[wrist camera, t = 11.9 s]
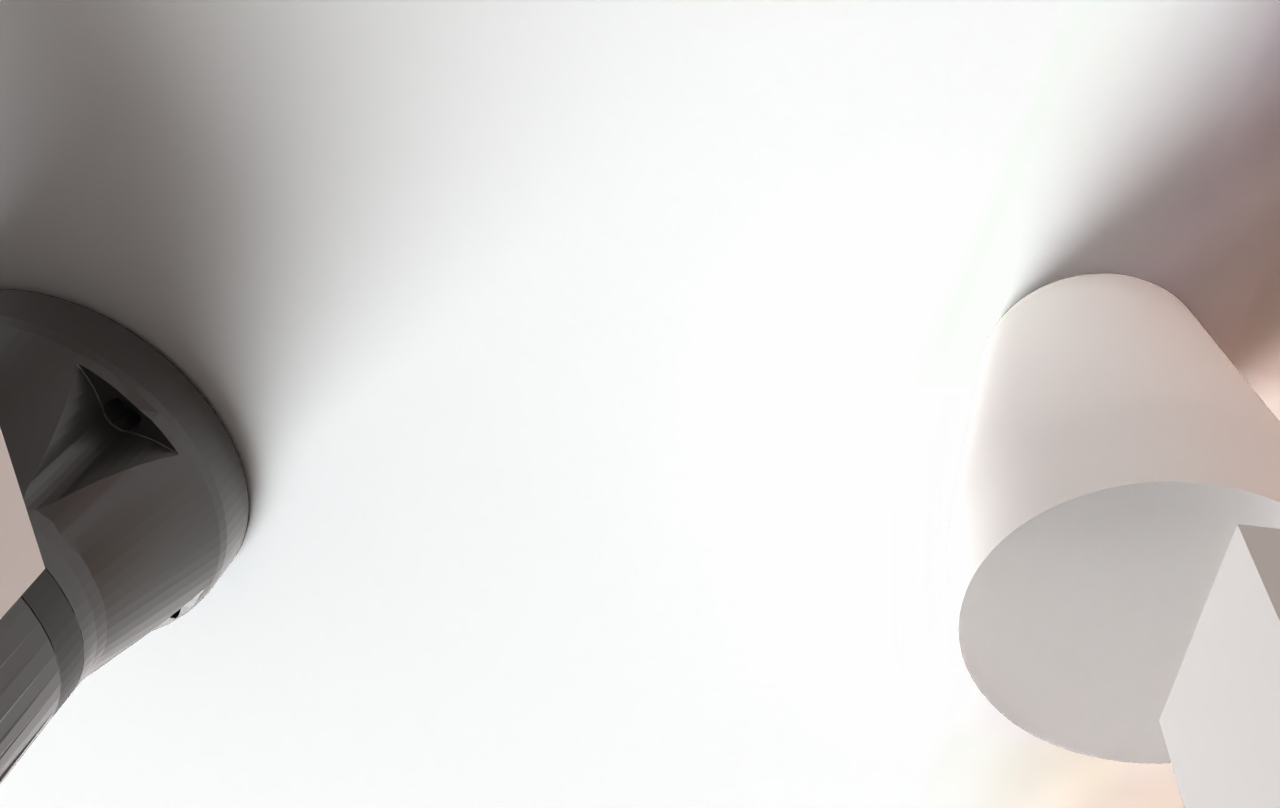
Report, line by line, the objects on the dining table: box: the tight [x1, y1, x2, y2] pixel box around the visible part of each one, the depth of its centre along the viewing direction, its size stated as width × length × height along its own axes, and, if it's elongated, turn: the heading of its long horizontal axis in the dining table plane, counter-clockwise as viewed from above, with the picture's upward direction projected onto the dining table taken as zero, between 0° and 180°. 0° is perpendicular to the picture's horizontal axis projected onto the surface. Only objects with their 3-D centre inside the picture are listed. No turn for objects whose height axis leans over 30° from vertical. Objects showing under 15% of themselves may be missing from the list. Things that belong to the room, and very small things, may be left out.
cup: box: [948, 273, 1280, 764], centre depth 32 cm, size 9×9×12 cm
